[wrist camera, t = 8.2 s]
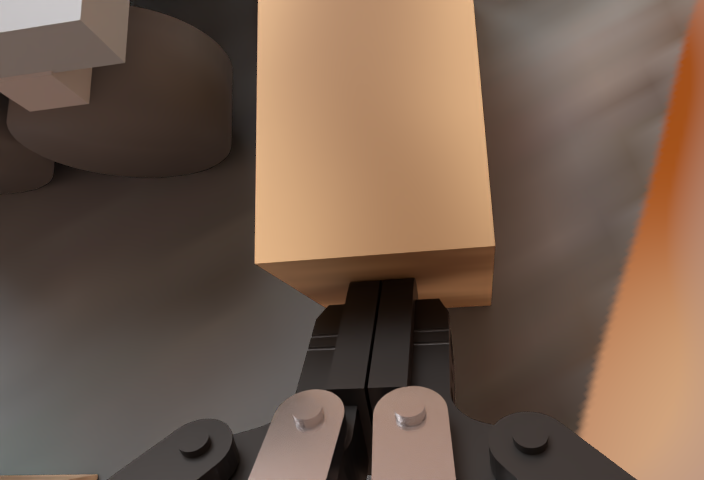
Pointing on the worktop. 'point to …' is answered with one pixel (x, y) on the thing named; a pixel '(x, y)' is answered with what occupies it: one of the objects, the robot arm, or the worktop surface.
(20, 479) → the pin block
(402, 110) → the block
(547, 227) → the worktop surface
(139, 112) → the trolley
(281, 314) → the worktop surface
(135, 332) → the worktop surface
